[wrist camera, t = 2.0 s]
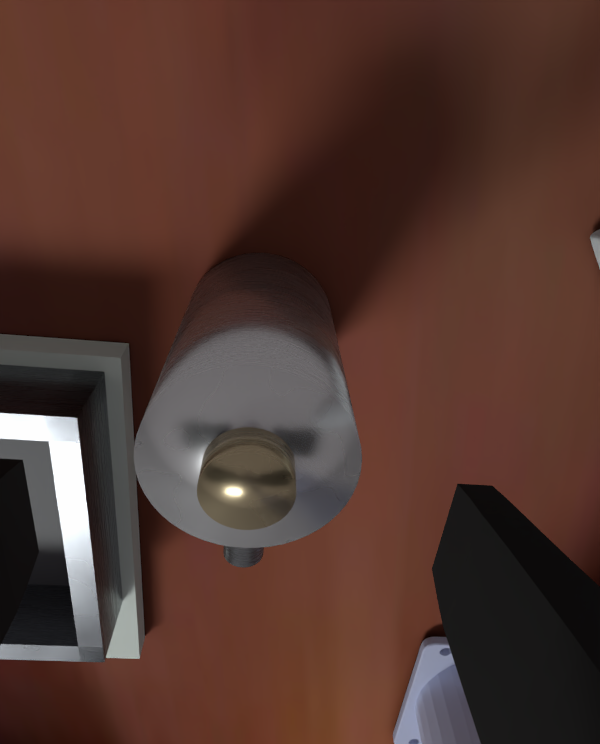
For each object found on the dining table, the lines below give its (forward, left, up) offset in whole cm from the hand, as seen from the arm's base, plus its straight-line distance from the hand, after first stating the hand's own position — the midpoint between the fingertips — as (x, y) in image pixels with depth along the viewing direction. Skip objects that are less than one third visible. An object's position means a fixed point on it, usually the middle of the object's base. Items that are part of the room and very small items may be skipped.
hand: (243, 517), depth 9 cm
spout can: (0, 0, -8) cm, 8 cm away
